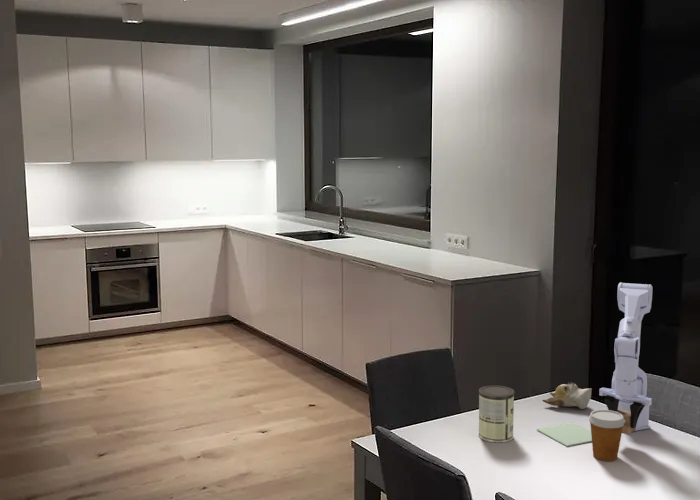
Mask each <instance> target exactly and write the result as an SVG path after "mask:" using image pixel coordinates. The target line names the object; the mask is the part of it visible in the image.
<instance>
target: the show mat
mask: <svg viewBox="0 0 700 500" xmlns="http://www.w3.org/2000/svg"><path fill="white" fill-rule="evenodd" d="M537 430H538V432H539V431H540V432H539V433H541V434H543V435H545V436H546V437H548V438H550V439H553V440H554V441H555V442H557V443H559V444H561V445H562V446H565V447H571V446H572V447H573V446H577V445H583V444H589V443H592V436H591V429H589V428H586V427H585V426H582V425H581V424H579V423H576V422H574V421H573V422H568V423H562V424H557V425H551V426H546V427H541V428H536V431H537Z"/></svg>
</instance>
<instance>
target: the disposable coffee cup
mask: <svg viewBox="0 0 700 500" xmlns="http://www.w3.org/2000/svg"><path fill="white" fill-rule="evenodd" d="M588 421H589V423H590V424H589V425H590V430H591V436H592V442H591V445H592V447H591V448H592V455H593V458H595V459H597V460H599V461H603V462H614V461H616V460H618V456H619V450H620V445H621V439H622V435H623V433H622V429H623V425H624V423H625V420H624V417H623V415H622V414H620V413H618V412H615V411H611V410H608V409H595V410H592V411H590V415H589V416H588Z"/></svg>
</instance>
